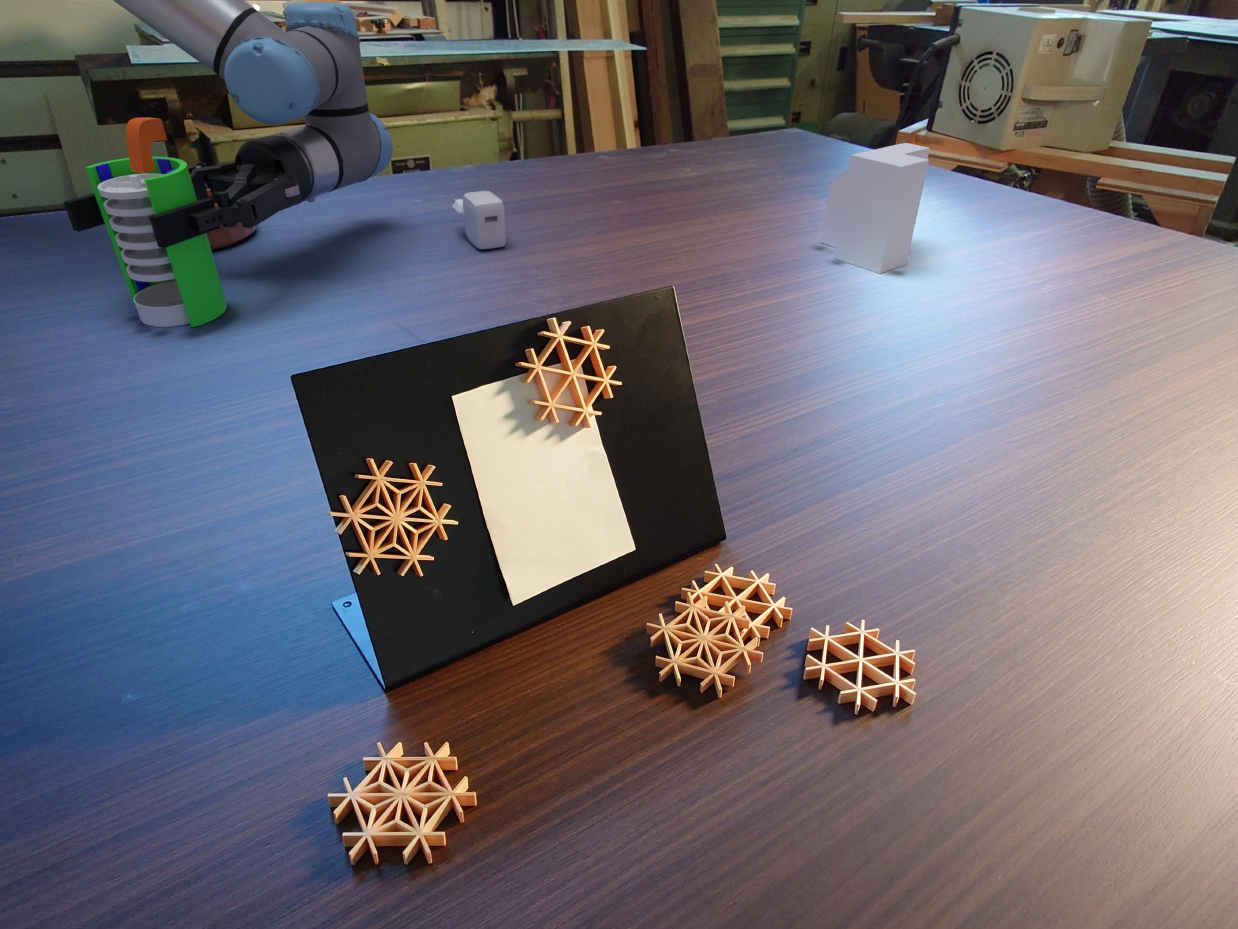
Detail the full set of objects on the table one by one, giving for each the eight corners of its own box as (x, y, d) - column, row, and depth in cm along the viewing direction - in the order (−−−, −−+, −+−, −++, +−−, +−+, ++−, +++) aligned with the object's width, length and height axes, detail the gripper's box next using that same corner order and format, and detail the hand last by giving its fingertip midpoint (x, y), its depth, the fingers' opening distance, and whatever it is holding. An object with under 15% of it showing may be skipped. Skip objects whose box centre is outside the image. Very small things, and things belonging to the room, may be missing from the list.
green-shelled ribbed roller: (114, 321, 80) (44, 127, 70) (170, 291, 86) (114, 110, 76) (195, 331, 78) (135, 134, 68) (245, 300, 84) (198, 116, 74)
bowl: (106, 245, 98) (95, 212, 96) (199, 214, 109) (190, 183, 107) (194, 262, 94) (184, 228, 91) (281, 228, 105) (274, 197, 102)
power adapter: (448, 227, 106) (443, 181, 103) (484, 222, 108) (480, 177, 105) (474, 253, 98) (470, 204, 94) (512, 247, 99) (509, 199, 96)
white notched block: (879, 273, 94) (901, 166, 87) (803, 247, 101) (818, 147, 94) (931, 254, 100) (955, 153, 93) (855, 231, 107) (873, 135, 100)
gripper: (374, 216, 89) (218, 283, 72) (218, 191, 96) (42, 247, 79) (363, 144, 85) (195, 197, 68) (200, 124, 92) (11, 167, 75)
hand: (112, 224), depth 73 cm, fingers open, 10 cm apart
